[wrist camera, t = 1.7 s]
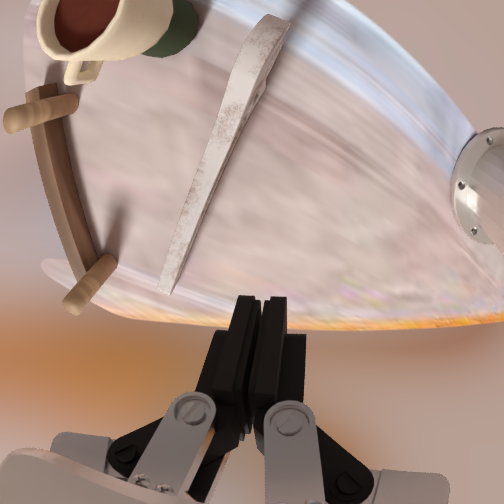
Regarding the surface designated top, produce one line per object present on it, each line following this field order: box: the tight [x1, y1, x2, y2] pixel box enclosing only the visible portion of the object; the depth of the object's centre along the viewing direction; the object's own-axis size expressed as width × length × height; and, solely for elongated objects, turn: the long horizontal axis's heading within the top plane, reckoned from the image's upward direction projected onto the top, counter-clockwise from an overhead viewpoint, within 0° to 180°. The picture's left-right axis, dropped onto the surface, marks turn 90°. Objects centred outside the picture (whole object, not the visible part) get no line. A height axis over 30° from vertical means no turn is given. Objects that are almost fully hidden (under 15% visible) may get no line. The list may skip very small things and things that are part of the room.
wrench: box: [157, 14, 291, 296], centre depth 26 cm, size 8×2×30 cm
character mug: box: [36, 0, 198, 86], centre depth 16 cm, size 11×7×13 cm, turn 151°
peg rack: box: [3, 83, 117, 315], centre depth 27 cm, size 5×26×9 cm, turn 4°
